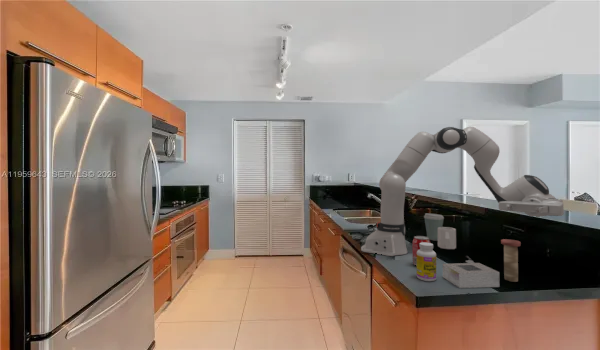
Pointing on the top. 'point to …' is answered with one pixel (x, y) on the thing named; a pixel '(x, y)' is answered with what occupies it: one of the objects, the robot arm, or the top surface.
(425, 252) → the supplement bottle
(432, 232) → the disposable coffee cup
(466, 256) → the chef's knife
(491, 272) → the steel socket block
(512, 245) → the wooden pin
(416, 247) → the soda can
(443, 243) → the mug
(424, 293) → the top surface
